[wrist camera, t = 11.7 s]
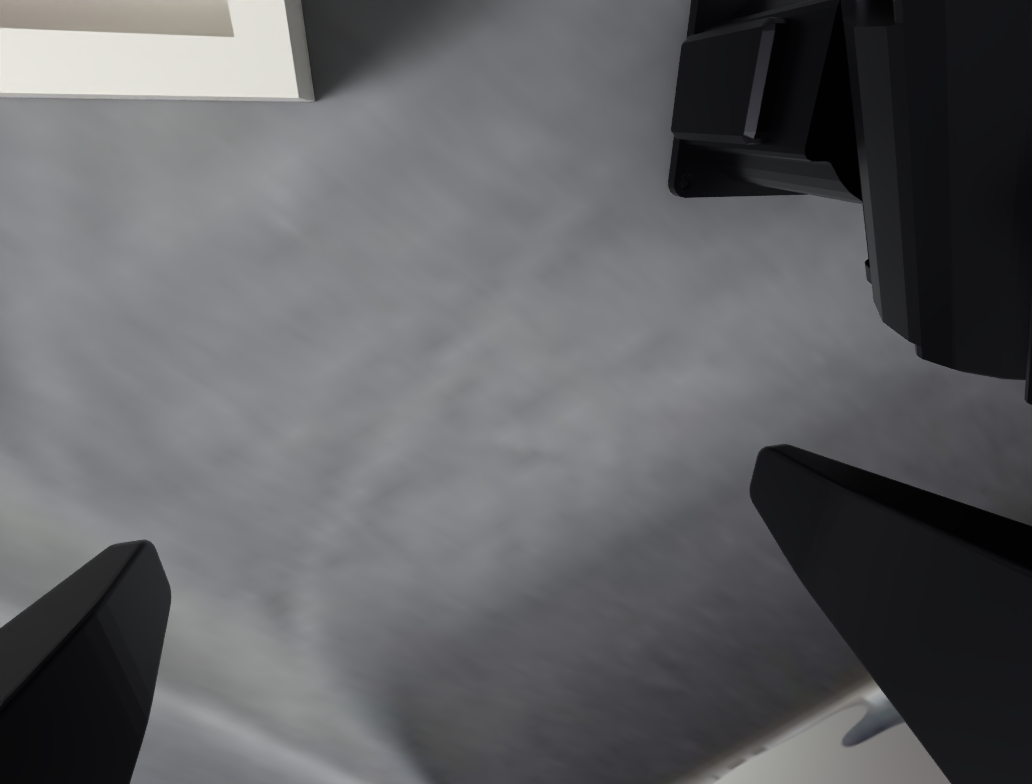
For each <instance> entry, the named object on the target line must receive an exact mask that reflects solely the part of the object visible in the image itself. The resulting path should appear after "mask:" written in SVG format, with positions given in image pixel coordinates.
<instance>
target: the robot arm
mask: <svg viewBox="0 0 1032 784" xmlns="http://www.w3.org/2000/svg"><path fill="white" fill-rule="evenodd" d="M671 131H672V133H673V135H674V140H673V148H672V156H671V164H670V171H669V179H668V187H669V189H670V192H671V193H672V194H674V195H676V196H680V197H684V198H691V197H729V196H767V195H805V194H810V195H815V196H821V197H826V198H832V199H837V200H843V201H848V202H854V203H859V204H863V212H864V221H865V231H866V240H867V249H868V258H869V259H867V260H866V262H865V268H866V277H867V280H868V281H869V282H870V283H871V284H872V290H873V299H874V303H875V305H876V307H877V309H878V312H879V314H880V316H881V319H882V321H883V322H884V323H885V324H886V325H888V326H889V327H890V328H892V329H893V330H894V331H896V332H897V333H898V334H900V335H901V336H903V337H904V338H905V339H907V340H908V341H909V342H912V343H914V344H915V350H916V354H917V356H919V357H920V358H922V359H924V360H927V361H930V362H933V363H936V364H939V365H942V366H945V367H948V368H951V369H955V370H958V371H961V372H966V373H972V374H978V375H983V376H989V377H995V378H1001V379H1013V380H1026V385H1025V401H1026V402H1027V403H1029V404H1031V405H1032V0H691V8H690V16H689V23H688V31H687V39H686V40H685V42H684V43H683V44H682V47H681V54H680V62H679V70H678V78H677V86H676V94H675V102H674V110H673V118H672V126H671ZM685 175H687V177H688V182H687V185H686V186H685V187H684V188H682V187H681V183H680V182H681V179H682V178H683V177H684V176H685ZM750 497H751V500H752V502H753V504H754V506H755V507H756V509H757V511H758V512H759V514H760V516H761V517H762V519H763V520H764V522H765V524H766V525H767V527H768V529H769V530H770V532H771V534H772V535H773V537H774V539H775V540H776V542H777V543H778V545H779V547H780V548H781V550H782V552H783V553H784V555H785V557H786V558H787V560H788V562H789V563H790V565H791V566H792V568H793V570H794V571H795V573H796V574H797V576H798V577H799V579H800V580H801V582H802V583H803V585H804V586H805V588H806V589H807V590H808V592H809V593H810V595H811V596H812V597H813V599H814V600H815V601H816V603H817V604H818V605H819V607H820V608H821V609H822V611H823V612H824V613H825V615H826V616H827V617H828V619H829V620H830V621H831V623H832V624H833V625H834V627H835V628H836V629H837V631H838V632H839V634H840V635H841V636H842V638H843V639H844V640H845V642H846V643H847V644H848V646H849V647H850V648H851V650H852V651H853V652H854V654H855V655H856V656H857V658H858V659H859V660H860V662H861V663H862V664H863V666H864V667H865V669H866V670H867V671H868V673H869V674H870V675H871V677H872V678H873V679H874V681H875V682H876V683H877V685H878V686H879V687H880V689H881V690H882V691H883V693H884V694H885V695H886V697H887V698H888V699H889V701H890V702H891V704H892V705H893V706H894V708H895V709H896V710H897V712H898V713H899V714H900V716H901V717H902V718H903V720H904V721H905V722H906V724H907V725H908V726H909V728H910V729H911V730H912V732H913V733H914V734H915V736H916V737H917V738H918V740H919V741H920V742H921V744H922V745H923V747H924V748H925V749H926V750H927V752H928V753H929V755H930V756H931V757H932V759H933V760H934V761H935V763H936V764H937V765H938V767H939V768H940V769H941V770H942V772H943V773H944V775H945V776H946V778H947V779H948V780H949V781H950V783H951V784H1032V526H1030V525H1027V524H1024V523H1021V522H1018V521H1015V520H1012V519H1009V518H1006V517H1003V516H1000V515H997V514H994V513H991V512H988V511H985V510H982V509H979V508H976V507H973V506H970V505H967V504H964V503H961V502H958V501H955V500H952V499H949V498H946V497H943V496H940V495H937V494H934V493H931V492H928V491H925V490H922V489H919V488H916V487H913V486H910V485H908V484H905V483H902V482H899V481H896V480H893V479H890V478H887V477H884V476H881V475H878V474H875V473H872V472H869V471H866V470H863V469H860V468H857V467H854V466H851V465H848V464H845V463H842V462H839V461H836V460H833V459H830V458H827V457H824V456H821V455H818V454H815V453H812V452H809V451H806V450H803V449H800V448H797V447H794V446H791V445H788V444H780V445H773V446H766V447H764V448H762V449H761V450H760V451H759V453H758V455H757V459H756V463H755V467H754V471H753V475H752V479H751V483H750ZM170 605H171V589H170V585H169V582H168V579H167V577H166V574H165V572H164V569H163V566H162V564H161V561H160V558H159V556H158V553H157V551H156V548H155V546H154V545H153V544H152V543H151V542H150V541H148V540H138V541H131V542H124V543H118V544H114V545H111V546H109V547H108V548H106V549H105V550H104V551H102V552H101V553H100V554H98V555H97V556H96V557H94V558H93V559H92V560H90V561H89V562H88V563H86V564H85V565H84V566H82V567H81V568H80V569H78V570H77V571H76V572H74V573H73V574H72V575H70V576H69V577H68V578H66V579H65V580H64V581H62V582H61V583H60V584H58V585H57V586H56V587H54V588H53V589H52V590H50V591H49V592H48V593H46V594H45V595H44V596H42V597H41V598H40V599H38V600H37V601H36V602H35V603H33V604H32V605H31V606H29V607H28V608H27V609H25V610H24V611H23V612H21V613H20V614H19V615H17V616H16V617H15V618H13V619H12V620H11V621H9V622H8V623H7V624H5V625H4V626H3V627H1V628H0V784H130V781H131V777H132V774H133V771H134V768H135V764H136V761H137V758H138V755H139V751H140V748H141V745H142V742H143V738H144V734H145V731H146V727H147V724H148V720H149V715H150V710H151V706H152V701H153V696H154V691H155V685H156V680H157V675H158V669H159V664H160V659H161V653H162V648H163V643H164V637H165V632H166V627H167V621H168V616H169V611H170Z"/></svg>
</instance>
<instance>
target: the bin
mask: <svg viewBox="0 0 1032 784" xmlns="http://www.w3.org/2000/svg"><path fill="white" fill-rule="evenodd" d="M0 97H17V98H82V99H146V100H211V101H276V102H315V97H314V90H313V82H312V75H311V68H310V61H309V54H308V46H307V39H306V32H305V25H304V18H303V10H302V3H301V0H0Z"/></svg>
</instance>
